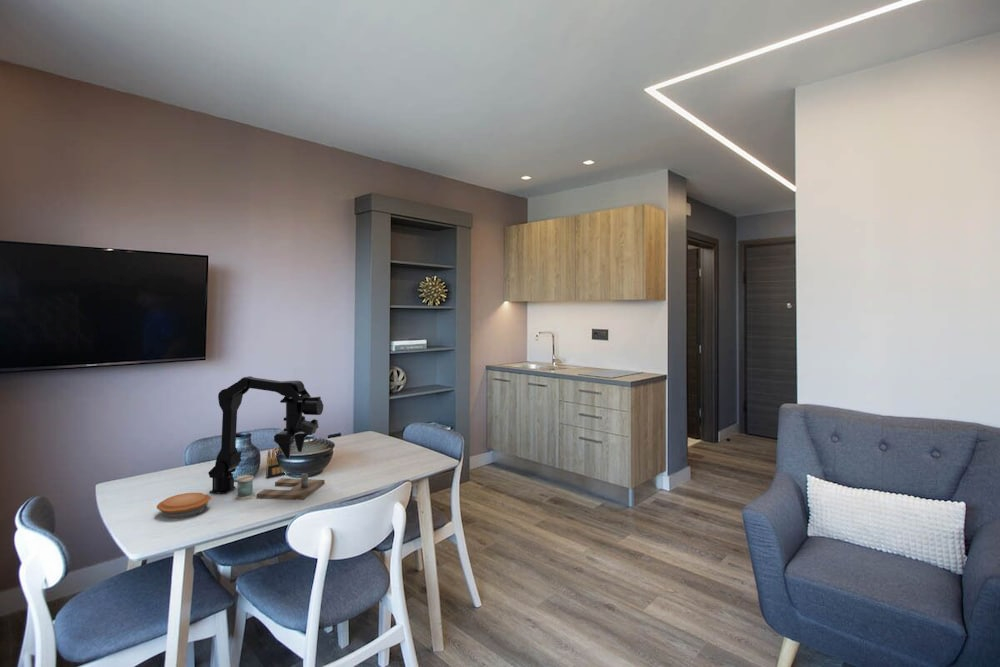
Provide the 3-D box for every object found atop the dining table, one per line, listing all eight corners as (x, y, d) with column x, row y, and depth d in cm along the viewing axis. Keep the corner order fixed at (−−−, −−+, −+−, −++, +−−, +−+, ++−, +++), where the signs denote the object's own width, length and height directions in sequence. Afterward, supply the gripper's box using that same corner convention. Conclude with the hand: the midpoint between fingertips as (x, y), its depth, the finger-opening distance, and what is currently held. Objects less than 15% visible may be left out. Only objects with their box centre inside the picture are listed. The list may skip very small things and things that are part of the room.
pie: (180, 502, 176) (180, 488, 175) (220, 504, 174) (220, 490, 174) (144, 519, 160) (144, 504, 160) (188, 522, 159) (188, 507, 159)
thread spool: (232, 499, 179) (232, 479, 179) (242, 493, 185) (242, 474, 185) (247, 499, 179) (247, 480, 179) (256, 494, 185) (256, 475, 184)
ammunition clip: (267, 478, 202) (267, 450, 202) (265, 477, 204) (265, 449, 203) (293, 473, 210) (293, 445, 210) (291, 472, 211) (291, 444, 211)
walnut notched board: (256, 497, 181) (256, 480, 180) (281, 481, 199) (281, 466, 198) (303, 499, 179) (303, 482, 179) (324, 483, 197) (324, 467, 197)
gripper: (303, 419, 175) (302, 463, 175) (325, 410, 194) (325, 449, 194) (273, 419, 176) (273, 462, 176) (298, 409, 194) (298, 448, 195)
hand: (294, 455), depth 185 cm, fingers open, 9 cm apart
